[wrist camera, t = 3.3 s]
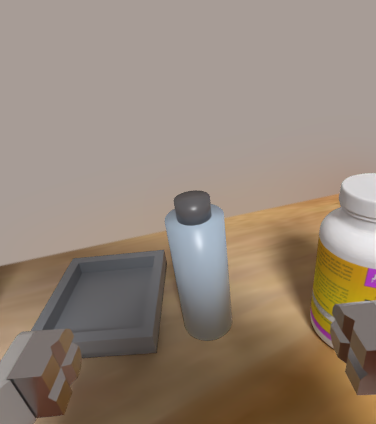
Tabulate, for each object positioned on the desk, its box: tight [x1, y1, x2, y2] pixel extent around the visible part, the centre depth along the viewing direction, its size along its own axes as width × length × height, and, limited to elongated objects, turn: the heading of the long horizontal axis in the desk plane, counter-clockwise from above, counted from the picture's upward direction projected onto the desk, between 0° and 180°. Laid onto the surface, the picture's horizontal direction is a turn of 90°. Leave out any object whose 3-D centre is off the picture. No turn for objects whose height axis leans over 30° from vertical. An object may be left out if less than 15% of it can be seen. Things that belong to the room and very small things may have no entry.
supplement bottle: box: [310, 173, 376, 349], centre depth 21 cm, size 7×7×13 cm
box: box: [31, 250, 167, 358], centre depth 30 cm, size 11×12×2 cm
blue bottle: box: [165, 191, 232, 341], centre depth 24 cm, size 4×4×12 cm
